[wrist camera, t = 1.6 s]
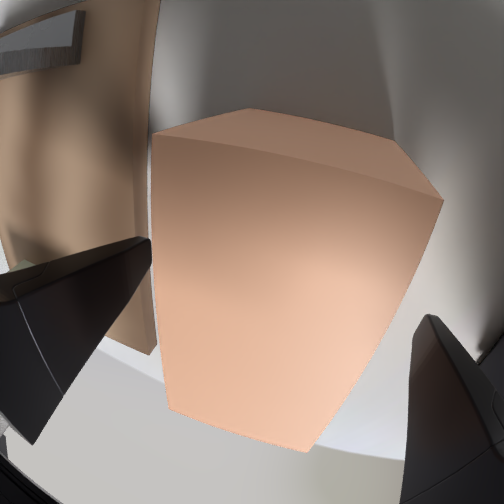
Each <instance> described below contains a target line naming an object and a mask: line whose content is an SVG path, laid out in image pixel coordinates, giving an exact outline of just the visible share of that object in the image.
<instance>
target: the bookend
mask: <svg viewBox="0 0 504 504" xmlns="http://www.w3.org/2000/svg"><path fill="white" fill-rule="evenodd" d="M85 15H86V11H83V10H74V11H70V12H67V13H64V14H61V15H58V16H55V17H52V18H49V19H46V20H43V21H41V22H38V23H35V24H33V25H30V26H28V27H25V28H23V29H20V30H18V31H16V32H13V33H11V34H9V35H7V36H4V37H2V38H0V80H3V79H6V78H10V77H14V76H19V75H23V74H27V73H32V72H37V71H42V70H47V69H52V68H58V67H64V66H71V65H78V64H80V62H81V50H82V39H83V30H84V22H85Z"/></svg>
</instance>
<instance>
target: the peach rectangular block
mask: <svg viewBox="0 0 504 504" xmlns="http://www.w3.org/2000/svg"><path fill="white" fill-rule="evenodd" d="M443 201H444V200H443V198H442V197H441V196H440V194H439V193H438V192H437V190H436V189H435V188H434V187H433V185H432V184H431V183H430V182H429V180H428V179H427V178H426V177H425V175H424V174H423V173H422V172H421V171H420V169H419V168H418V167H417V166H416V165H415V163H414V162H413V161H412V160H411V159H410V158H409V156H408V155H407V154H406V153H405V152H404V151H403V150H402V149H401V147H400V146H399V145H398V144H397V143H396V142H395V141H393V140H390V139H387V138H383V137H380V136H376V135H373V134H369V133H366V132H362V131H358V130H354V129H351V128H347V127H343V126H339V125H334V124H330V123H326V122H322V121H317V120H312V119H308V118H303V117H298V116H293V115H288V114H282V113H277V112H271V111H265V110H259V109H252V108H246V109H242V110H237V111H233V112H229V113H224V114H220V115H216V116H212V117H208V118H205V119H201V120H197V121H193V122H190V123H186V124H183V125H179V126H176V127H172V128H169V129H166V130H162V131H159V132H156V133H153V134H152V148H151V228H152V254H153V272H154V287H155V300H156V312H157V322H158V332H159V341H160V350H161V358H162V366H163V373H164V381H165V388H166V394H167V401H168V406H169V409H170V410H172V411H175V412H177V413H180V414H182V415H185V416H187V417H190V418H192V419H195V420H198V421H200V422H203V423H206V424H208V425H211V426H214V427H217V428H220V429H223V430H226V431H229V432H232V433H235V434H238V435H241V436H245V437H248V438H251V439H255V440H258V441H262V442H265V443H269V444H272V445H276V446H280V447H284V448H288V449H292V450H296V451H301V452H305V453H307V452H308V451H309V450H310V448H311V447H312V446H313V444H314V443H315V442H316V440H317V439H318V438H319V436H320V435H321V434H322V432H323V431H324V430H325V428H326V427H327V425H328V424H329V423H330V421H331V420H332V418H333V417H334V415H335V414H336V413H337V411H338V410H339V408H340V407H341V405H342V404H343V402H344V401H345V399H346V398H347V396H348V395H349V393H350V392H351V390H352V388H353V387H354V385H355V384H356V382H357V380H358V379H359V377H360V376H361V374H362V372H363V371H364V369H365V367H366V366H367V364H368V362H369V361H370V359H371V357H372V356H373V354H374V352H375V350H376V349H377V347H378V345H379V343H380V341H381V340H382V338H383V336H384V334H385V332H386V331H387V329H388V327H389V325H390V323H391V321H392V319H393V317H394V315H395V313H396V311H397V309H398V307H399V305H400V303H401V301H402V299H403V297H404V295H405V293H406V291H407V289H408V287H409V285H410V283H411V281H412V278H413V276H414V274H415V272H416V270H417V267H418V265H419V263H420V260H421V258H422V256H423V253H424V251H425V249H426V246H427V244H428V241H429V239H430V236H431V234H432V231H433V229H434V226H435V223H436V221H437V218H438V215H439V213H440V210H441V207H442V204H443Z"/></svg>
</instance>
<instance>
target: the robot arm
mask: <svg viewBox="0 0 504 504" xmlns="http://www.w3.org/2000/svg"><path fill="white" fill-rule="evenodd" d="M151 263H152V248H151V240H150V239H149V238H146V237H143V236H136V237H132V238H128V239H125V240H121V241H117V242H114V243H110V244H106V245H103V246H99V247H96V248H92V249H89V250H85V251H82V252H78V253H75V254H71V255H68V256H65V257H61V258H58V259H55V260H51V261H50V262H44V263H41V264H38V265H34V266H31V267H28V268H24V269H20V270H16V271H12V272H8V273H4V274H0V504H63V503H61V502H60V501H59V500H57V499H56V498H54V497H53V496H52V495H50V494H49V493H48V492H47V491H45V490H44V489H43V488H41V487H40V486H39V485H38V484H36V483H35V482H34V481H33V480H31V479H30V478H29V477H28V476H27V475H25V474H24V473H23V472H22V471H21V470H20V469H18V468H17V467H16V466H15V465H14V464H13V463H12V462H11V461H10V460H9V459H8V456H7V446H6V437H5V436H4V435H3V433H4V432H5V431H6V429H7V428H8V427H9V426H10V427H11V428H12V429H13V430H14V431H16V432H17V433H18V434H19V435H20V436H21V437H23V438H24V439H25V440H26V441H27V442H29V443H30V444H31V445H33V444H34V443H35V442H36V440H37V438H38V437H39V435H40V433H41V432H42V430H43V428H44V427H45V425H46V424H47V422H48V420H49V419H50V417H51V415H52V414H53V412H54V411H55V409H56V407H57V406H58V404H59V403H60V401H61V400H62V398H63V395H64V394H65V393H66V392H67V390H68V389H69V387H70V385H71V384H72V383H73V381H74V379H75V378H76V377H77V375H78V373H79V372H80V371H81V369H82V368H83V366H84V365H85V363H86V361H87V360H88V359H89V357H90V356H91V354H92V353H93V351H94V350H95V349H96V347H97V346H98V344H99V343H100V341H101V340H102V339H103V337H104V336H105V334H106V333H107V332H108V330H109V329H110V327H111V326H112V325H113V323H114V322H115V320H116V319H117V318H118V316H119V315H120V314H121V312H122V311H123V310H124V308H125V307H126V305H127V304H128V303H129V301H130V300H131V298H132V297H133V295H134V293H135V292H136V290H137V288H138V286H139V285H140V283H141V281H142V280H143V278H144V276H145V275H146V273H147V271H148V270H149V268H150V266H151ZM399 504H504V333H503V335H502V336H501V337H500V339H499V340H498V342H497V343H496V344H495V346H494V347H493V348H492V350H491V351H490V353H489V354H488V355H487V356H486V358H485V359H484V360H483V362H482V363H481V364H480V365H479V366H478V365H477V363H476V362H475V361H474V360H473V358H472V357H471V356H470V354H469V353H468V352H467V351H466V349H465V348H464V347H463V346H462V345H461V343H460V342H459V341H458V340H457V338H456V337H455V336H454V335H453V334H452V332H451V331H450V330H449V329H448V328H447V326H446V325H445V324H444V323H443V322H442V321H441V319H440V318H439V317H438V316H435V315H431V314H426V315H425V316H424V317H423V319H422V321H421V322H420V324H419V326H418V328H417V329H416V331H415V333H414V335H413V340H412V353H411V364H410V374H409V401H408V427H407V442H406V455H405V465H404V475H403V482H402V490H401V497H400V503H399Z"/></svg>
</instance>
